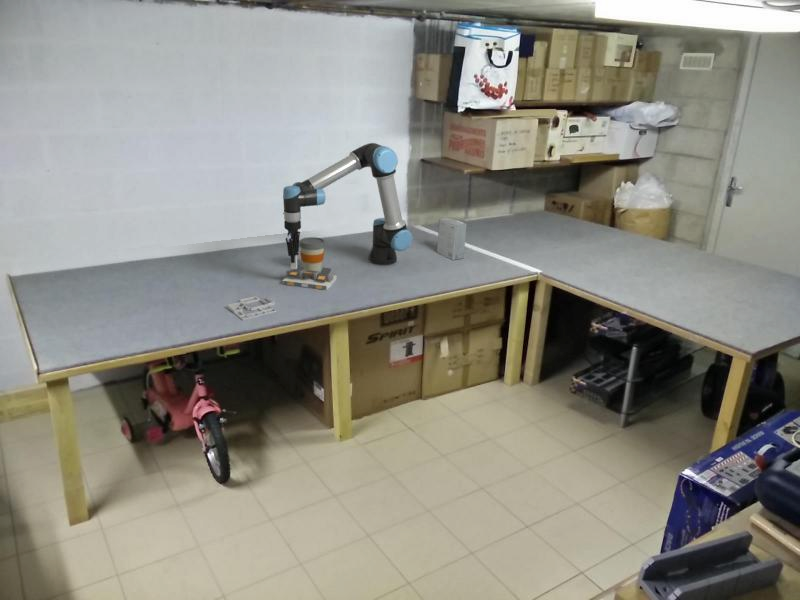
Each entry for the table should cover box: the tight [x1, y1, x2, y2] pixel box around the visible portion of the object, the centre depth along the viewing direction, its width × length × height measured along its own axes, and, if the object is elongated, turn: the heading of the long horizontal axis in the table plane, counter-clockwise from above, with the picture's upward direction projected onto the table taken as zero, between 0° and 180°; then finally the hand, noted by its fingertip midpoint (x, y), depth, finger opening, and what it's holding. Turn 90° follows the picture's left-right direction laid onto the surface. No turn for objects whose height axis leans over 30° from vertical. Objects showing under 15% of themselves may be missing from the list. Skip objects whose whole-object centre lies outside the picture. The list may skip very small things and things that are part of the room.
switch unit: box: [282, 267, 337, 291], centre depth 300 cm, size 22×16×5 cm
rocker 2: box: [317, 267, 332, 282], centre depth 298 cm, size 5×10×1 cm, turn 169°
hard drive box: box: [436, 217, 468, 261], centre depth 347 cm, size 16×8×20 cm, turn 34°
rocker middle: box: [302, 270, 317, 276], centre depth 299 cm, size 5×10×1 cm, turn 168°
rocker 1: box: [288, 265, 304, 278], centre depth 300 cm, size 5×10×1 cm, turn 168°
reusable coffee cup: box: [299, 236, 326, 272], centre depth 315 cm, size 12×13×15 cm
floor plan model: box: [226, 295, 277, 321], centre depth 270 cm, size 19×25×2 cm
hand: (294, 268), depth 296 cm, fingers closed
